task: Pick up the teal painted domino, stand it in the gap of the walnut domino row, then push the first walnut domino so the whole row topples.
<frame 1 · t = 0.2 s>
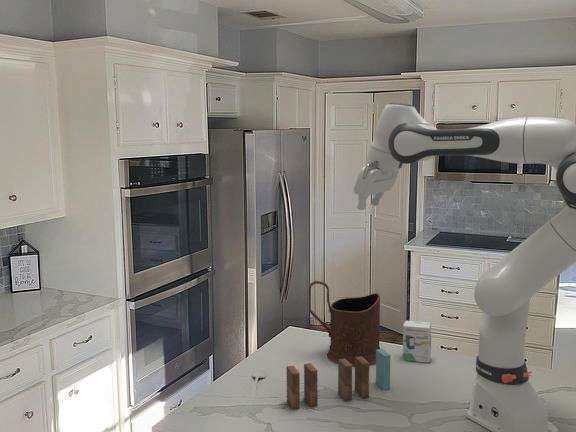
hand: (367, 207, 162), 51 cm above the countertop, tool tilted 20°, fingers open, 8 cm apart
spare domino: (382, 385, 166), on the countertop
spoon: (255, 387, 167), on the countertop
ink box: (416, 359, 185), on the countertop
domino 4: (310, 402, 156), on the countertop
domino 1: (361, 394, 161), on the countertop
domino 2: (345, 396, 159), on the countertop
domino 5: (293, 405, 155), on the countertop
brown pitcher: (346, 356, 188), on the countertop
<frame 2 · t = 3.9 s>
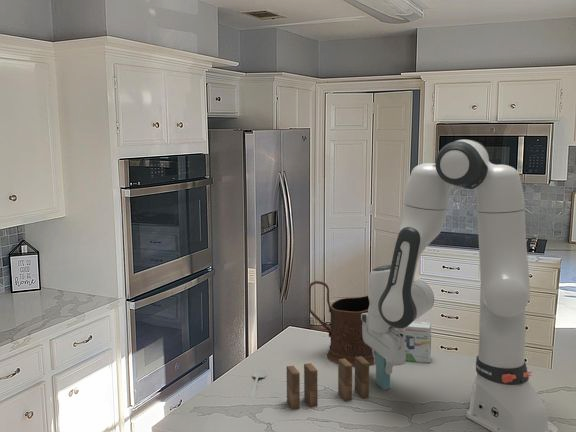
hand: (382, 368, 165), 5 cm above the countertop, tool pointing down, fingers closed on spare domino, 5 cm apart
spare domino: (382, 385, 166), on the countertop, touching gripper
everything else where it was.
when the fingers open (6 cm above the countertop, at t = 11.1 s): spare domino stays where it is, on the countertop.
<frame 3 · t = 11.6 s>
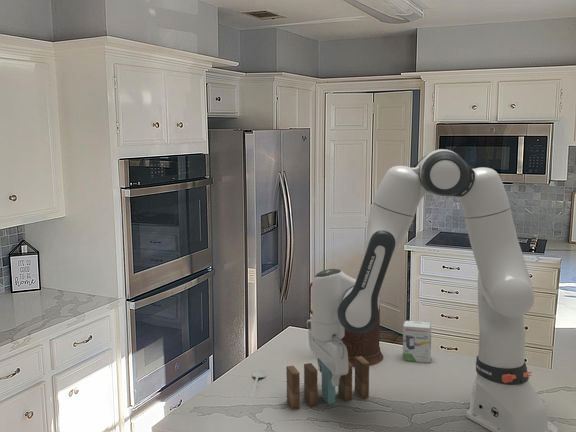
hand: (328, 378, 157), 6 cm above the countertop, tool pointing down, fingers open, 8 cm apart
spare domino: (328, 399, 158), on the countertop
everything else where it was.
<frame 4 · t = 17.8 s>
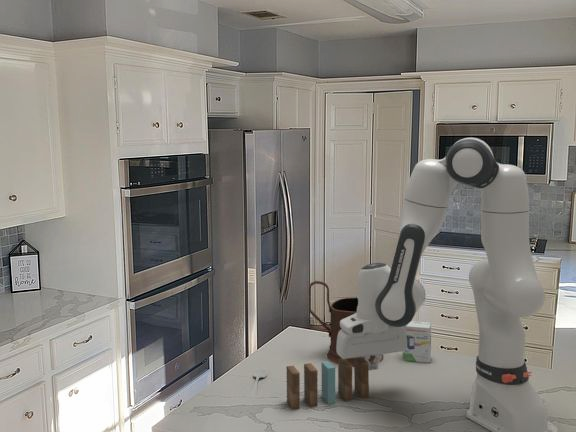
hand: (371, 369, 161), 7 cm above the countertop, tool pointing down, fingers closed
domino 1: (361, 394, 161), on the countertop, touching gripper
everything else where it was.
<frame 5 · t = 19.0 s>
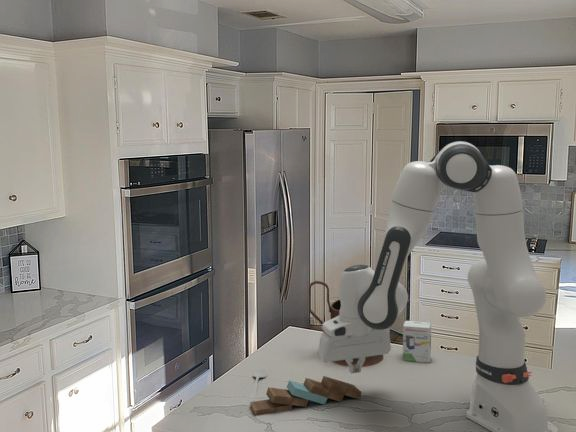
hand: (355, 372, 159), 7 cm above the countertop, tool pointing down, fingers closed
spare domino: (322, 397, 157), point 1 cm above the countertop, tilted 65°, touching domino 2, domino 4
domino 4: (304, 399, 156), point 1 cm above the countertop, tilted 74°, touching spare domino
domino 1: (356, 391, 160), point 1 cm above the countertop, tilted 66°, touching domino 2
domino 2: (338, 394, 159), point 1 cm above the countertop, tilted 65°, touching domino 1, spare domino
domino 5: (289, 404, 155), on the countertop, tilted 90°
everything else where it was.
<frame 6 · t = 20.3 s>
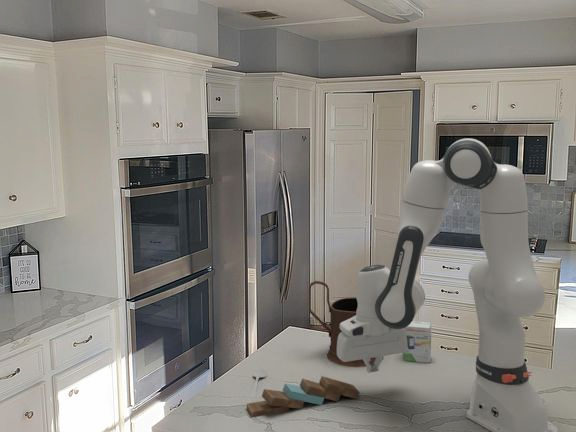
hand: (372, 371, 161), 6 cm above the countertop, tool pointing down, fingers closed
domino 4: (298, 401, 155), point 1 cm above the countertop, tilted 70°, touching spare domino
domino 2: (335, 394, 159), point 1 cm above the countertop, tilted 67°, touching domino 1, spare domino
domino 5: (285, 405, 154), on the countertop, tilted 90°
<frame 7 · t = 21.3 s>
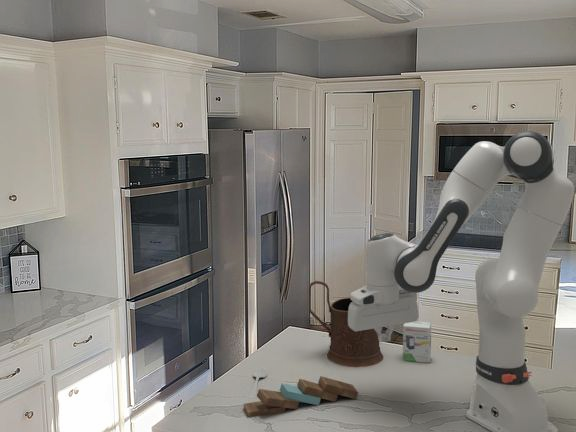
hand: (384, 341, 160), 15 cm above the countertop, tool pointing down, fingers closed
domino 4: (293, 401, 154), point 1 cm above the countertop, tilted 70°, touching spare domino
domino 2: (333, 394, 159), point 1 cm above the countertop, tilted 67°, touching domino 1, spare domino
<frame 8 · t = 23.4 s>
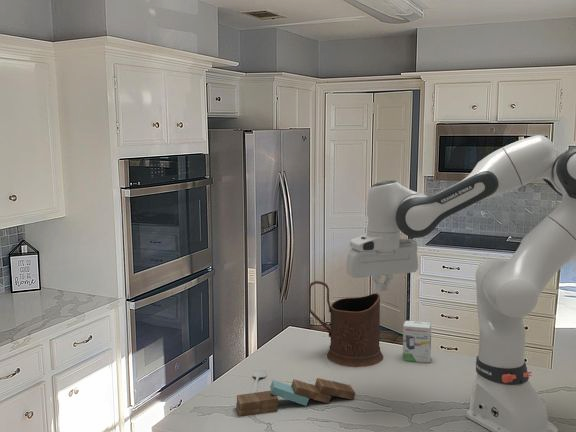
hand: (382, 290, 158), 29 cm above the countertop, tool pointing down, fingers closed
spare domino: (306, 398, 156), point 1 cm above the countertop, tilted 68°, touching domino 2
domino 4: (275, 397, 154), point 2 cm above the countertop, tilted 90°, touching domino 5
domino 2: (327, 396, 158), point 1 cm above the countertop, tilted 69°, touching domino 1, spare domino
domino 5: (275, 405, 154), on the countertop, tilted 90°, touching domino 4
at the end: domino 5 tilted 90°; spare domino tilted 68°; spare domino inside the target area (2.3 cm from its centre), point 1.0 cm above the countertop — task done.
